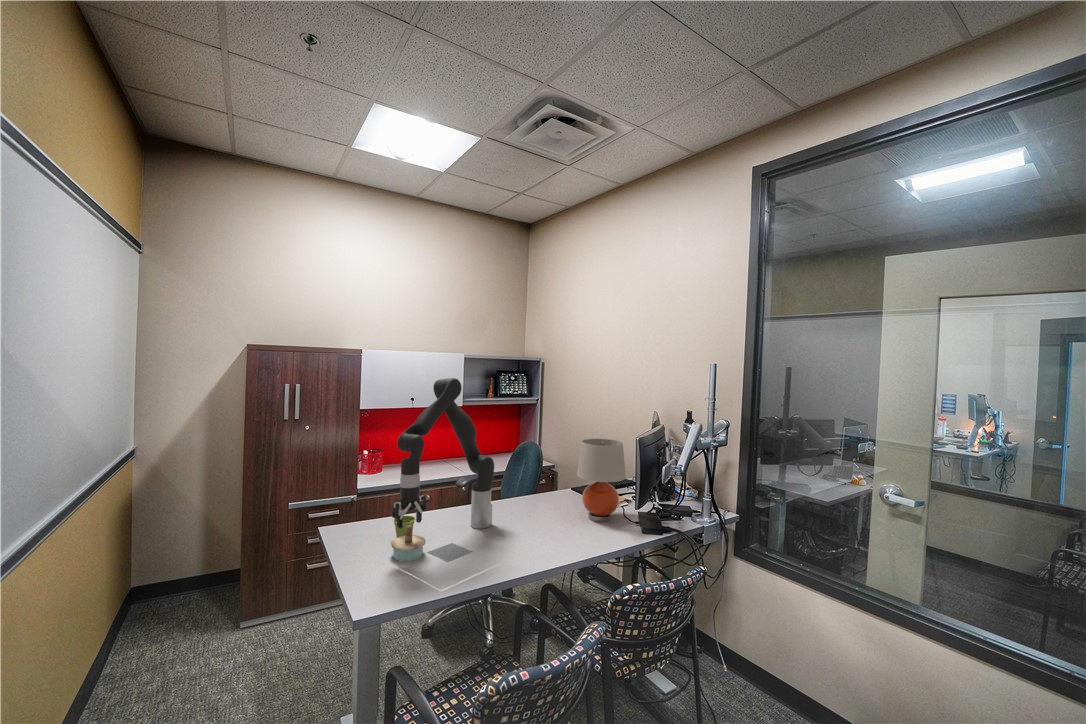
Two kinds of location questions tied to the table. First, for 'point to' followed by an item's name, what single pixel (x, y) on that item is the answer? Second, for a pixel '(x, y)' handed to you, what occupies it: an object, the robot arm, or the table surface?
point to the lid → (408, 540)
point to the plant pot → (406, 521)
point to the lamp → (601, 476)
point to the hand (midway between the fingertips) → (409, 525)
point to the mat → (449, 552)
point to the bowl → (407, 554)
